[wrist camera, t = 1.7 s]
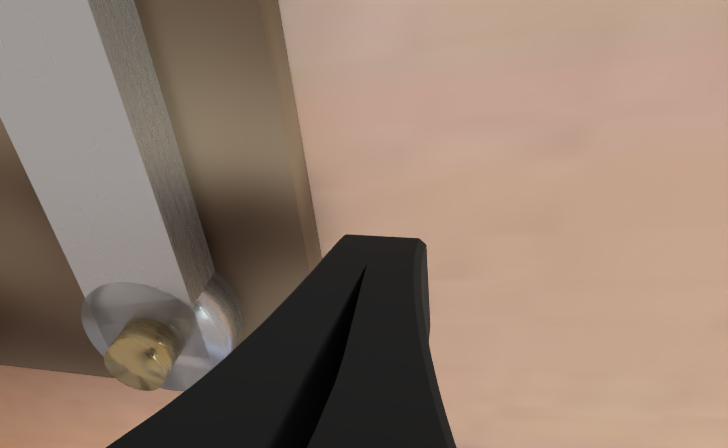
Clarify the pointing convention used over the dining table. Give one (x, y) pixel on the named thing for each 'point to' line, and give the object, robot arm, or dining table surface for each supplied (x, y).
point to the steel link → (115, 188)
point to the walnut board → (204, 173)
